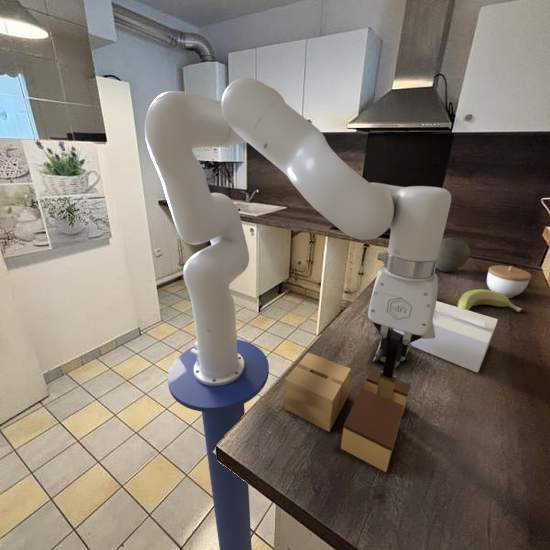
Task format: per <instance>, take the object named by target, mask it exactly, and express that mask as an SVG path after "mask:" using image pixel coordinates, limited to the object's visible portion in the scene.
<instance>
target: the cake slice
mask: <svg viewBox="0 0 550 550" xmlns="http://www.w3.org/2000/svg"><path fill="white" fill-rule="evenodd" d="M379 377H380V372H377V371H374V370H372V369H370V371H369V373H368V374H367V376H366V381H365V387H364V389H365V390H367V391H369V392H372V393H374V394H377V388H378V383H379ZM410 388H411V384H409V383H406V382H404V381H401V380H399V379H396V382H395V387H394V391H393V396H392V401H394V402H396V403H399V404H401V405H404V408H403V412H402V416H401V417H403V416H404V413H405V408H406V405H407V401H408V397H409V393H410Z"/></svg>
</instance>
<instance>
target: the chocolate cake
mask: <svg viewBox="0 0 550 550" xmlns="http://www.w3.org/2000/svg"><path fill="white" fill-rule="evenodd" d="M390 330H391V332H396V331H394V330H393V328H390ZM396 333H398V332H396ZM399 334H400V333H399ZM402 336H403V335H402ZM380 344H381V340H380V342H379V345H378V347H377V350H376V352H375V355H374V357H373V359H372V362H378V361H379V360H380V361H381V362H383V363H385V359H386V357H383V356H382V352H383V350H382V349H380ZM411 347H413V346H412V345H411V344H409V345H408V349H407V353H406V356H405V357H403V356H402V357H401V359H400V362H403V363H404V362H406V361H407V359H406V358H407V354H408V352H409V351H410V349H411ZM400 362H397V363H396V367H398V366H399V364H400Z"/></svg>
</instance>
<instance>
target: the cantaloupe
mask: <svg viewBox="0 0 550 550" xmlns="http://www.w3.org/2000/svg"><path fill="white" fill-rule="evenodd" d="M470 256H471V249H470V247H469V244H467V243H466V242H465V241H464V240H463V239H460V238H457V237H453V236H452V237H445V238H444V237H443V238H442V243H441V247H440V251H439V255H438V260H437V264H436V268H435V269H437V270H439V271H440V272H443V273H445V272H446V273H449V272H454V271H457V270H458V269H460V268H462V267H463V266H464V265H465V264H467V261H469V258H470Z"/></svg>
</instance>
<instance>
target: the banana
mask: <svg viewBox="0 0 550 550" xmlns="http://www.w3.org/2000/svg"><path fill="white" fill-rule="evenodd" d="M480 305H483V306H484V305H486V306H487V305H488V306H493V307H499V308H506V307H508V308H511V309H513V310H514V311H515V312H516V313H518V314H519V313H521V312H522V311H523V308H522V307H519V306H516V305H515V304H514V303H513V302H511V300H510V298H507V297H506V296H505V295H503V294H501V293H499V292H495V291H491V290H490V289H483V288H480V289H479V288H478V289H471V290H468V291H466V292H464V293H463V294H462V295H460V298H459V299H458V302H457V307H458V308H462V309H465V310H468V311H471V310H470V309H471V308H472V307H474V306H480Z"/></svg>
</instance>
